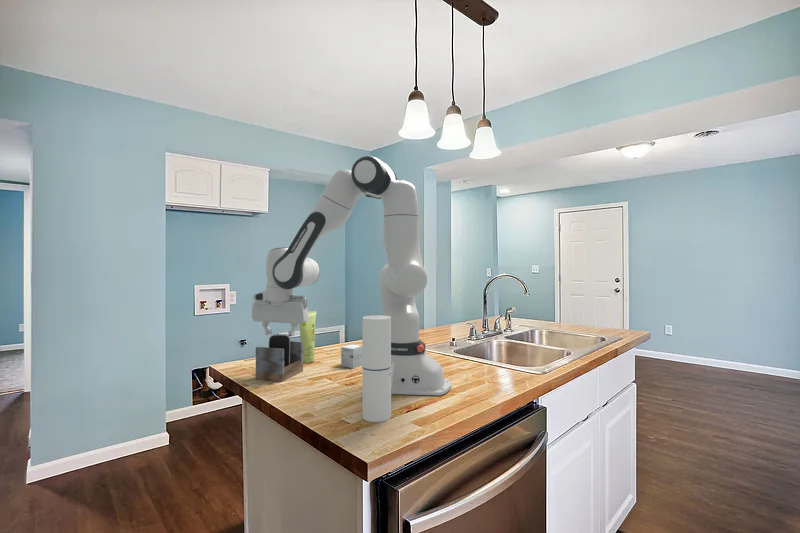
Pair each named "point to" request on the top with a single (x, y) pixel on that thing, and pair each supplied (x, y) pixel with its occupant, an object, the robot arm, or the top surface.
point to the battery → (281, 345)
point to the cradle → (278, 362)
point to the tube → (308, 337)
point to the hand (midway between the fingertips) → (280, 335)
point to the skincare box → (351, 356)
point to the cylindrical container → (376, 367)
